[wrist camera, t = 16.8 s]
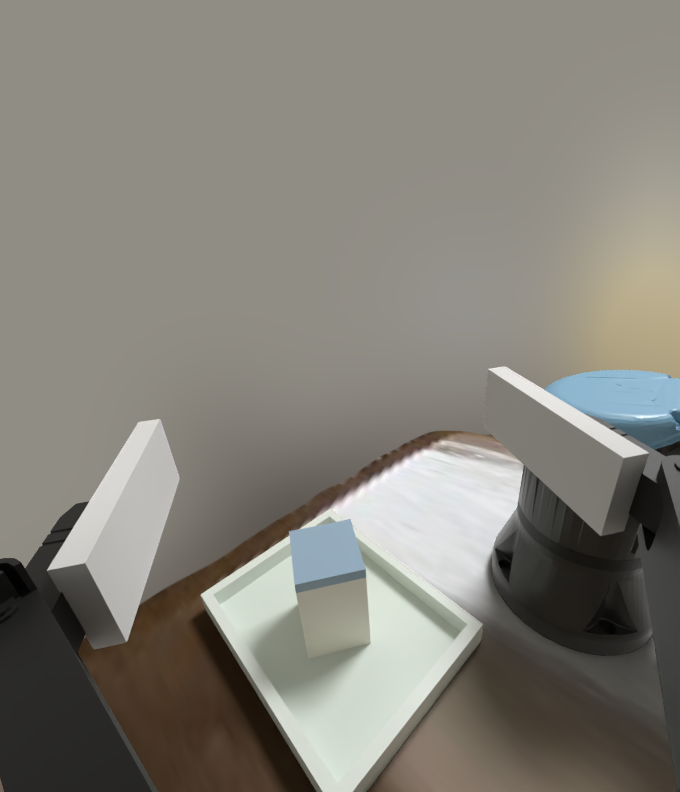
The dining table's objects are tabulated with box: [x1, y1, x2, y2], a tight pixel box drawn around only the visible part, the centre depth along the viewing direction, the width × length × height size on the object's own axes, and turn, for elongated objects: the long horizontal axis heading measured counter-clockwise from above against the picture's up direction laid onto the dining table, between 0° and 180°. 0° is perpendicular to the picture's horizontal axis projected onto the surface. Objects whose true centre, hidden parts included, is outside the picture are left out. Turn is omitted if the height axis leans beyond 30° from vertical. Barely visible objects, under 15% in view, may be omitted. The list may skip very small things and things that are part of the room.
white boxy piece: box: [289, 519, 371, 659], centre depth 36 cm, size 6×6×10 cm
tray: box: [201, 509, 483, 792], centre depth 38 cm, size 18×22×2 cm
